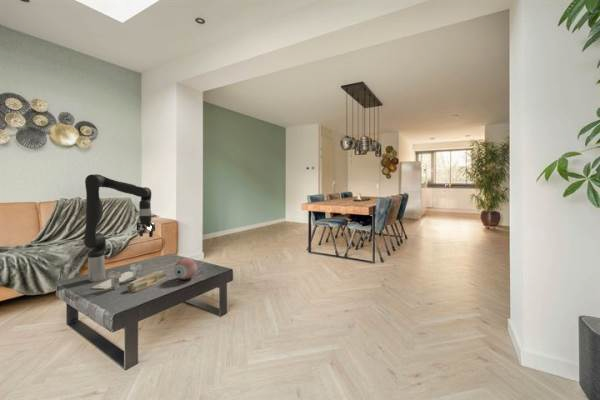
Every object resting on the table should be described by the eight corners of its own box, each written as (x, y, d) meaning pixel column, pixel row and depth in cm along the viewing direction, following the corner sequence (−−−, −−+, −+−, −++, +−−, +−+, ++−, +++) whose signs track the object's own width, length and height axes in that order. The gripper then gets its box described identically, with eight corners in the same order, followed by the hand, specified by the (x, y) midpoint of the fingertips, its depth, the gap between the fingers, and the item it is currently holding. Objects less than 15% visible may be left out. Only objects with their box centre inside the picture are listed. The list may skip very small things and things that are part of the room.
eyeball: (169, 282, 183) (169, 261, 182) (182, 274, 198) (181, 255, 197) (189, 283, 181) (189, 262, 180) (200, 275, 196) (200, 256, 195)
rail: (130, 289, 169) (129, 282, 168) (158, 276, 192) (158, 270, 192) (134, 290, 168) (134, 283, 168) (162, 277, 191) (162, 270, 191)
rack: (125, 290, 169) (125, 286, 168) (157, 276, 194) (156, 272, 193) (136, 292, 166) (136, 287, 166) (167, 277, 191) (167, 273, 191)
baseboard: (141, 274, 201) (127, 273, 202) (141, 270, 201) (127, 269, 202) (107, 290, 170) (91, 289, 172) (107, 286, 170) (91, 285, 171)
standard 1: (109, 289, 171) (108, 272, 170) (114, 286, 174) (113, 270, 174) (116, 290, 169) (116, 273, 169) (121, 287, 173) (121, 271, 172)
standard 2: (130, 280, 186) (129, 265, 186) (134, 278, 190) (134, 263, 189) (137, 281, 185) (137, 265, 184) (142, 279, 188) (141, 264, 188)
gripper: (133, 215, 188) (133, 237, 189) (149, 215, 185) (150, 238, 186) (141, 213, 195) (142, 235, 197) (157, 214, 192) (158, 236, 193)
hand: (146, 236), depth 191 cm, fingers open, 8 cm apart
